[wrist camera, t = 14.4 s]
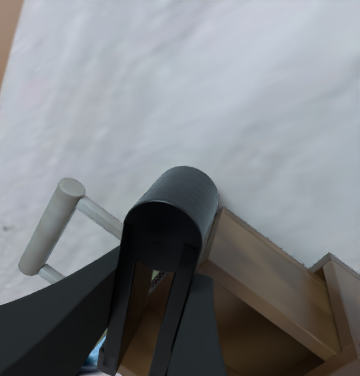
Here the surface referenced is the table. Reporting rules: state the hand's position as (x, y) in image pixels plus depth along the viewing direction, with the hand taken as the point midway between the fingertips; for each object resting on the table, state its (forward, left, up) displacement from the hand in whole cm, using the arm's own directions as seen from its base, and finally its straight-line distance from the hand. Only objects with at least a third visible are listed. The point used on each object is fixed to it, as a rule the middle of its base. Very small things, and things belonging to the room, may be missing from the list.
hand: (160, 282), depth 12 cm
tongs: (0, 0, -1) cm, 1 cm away
